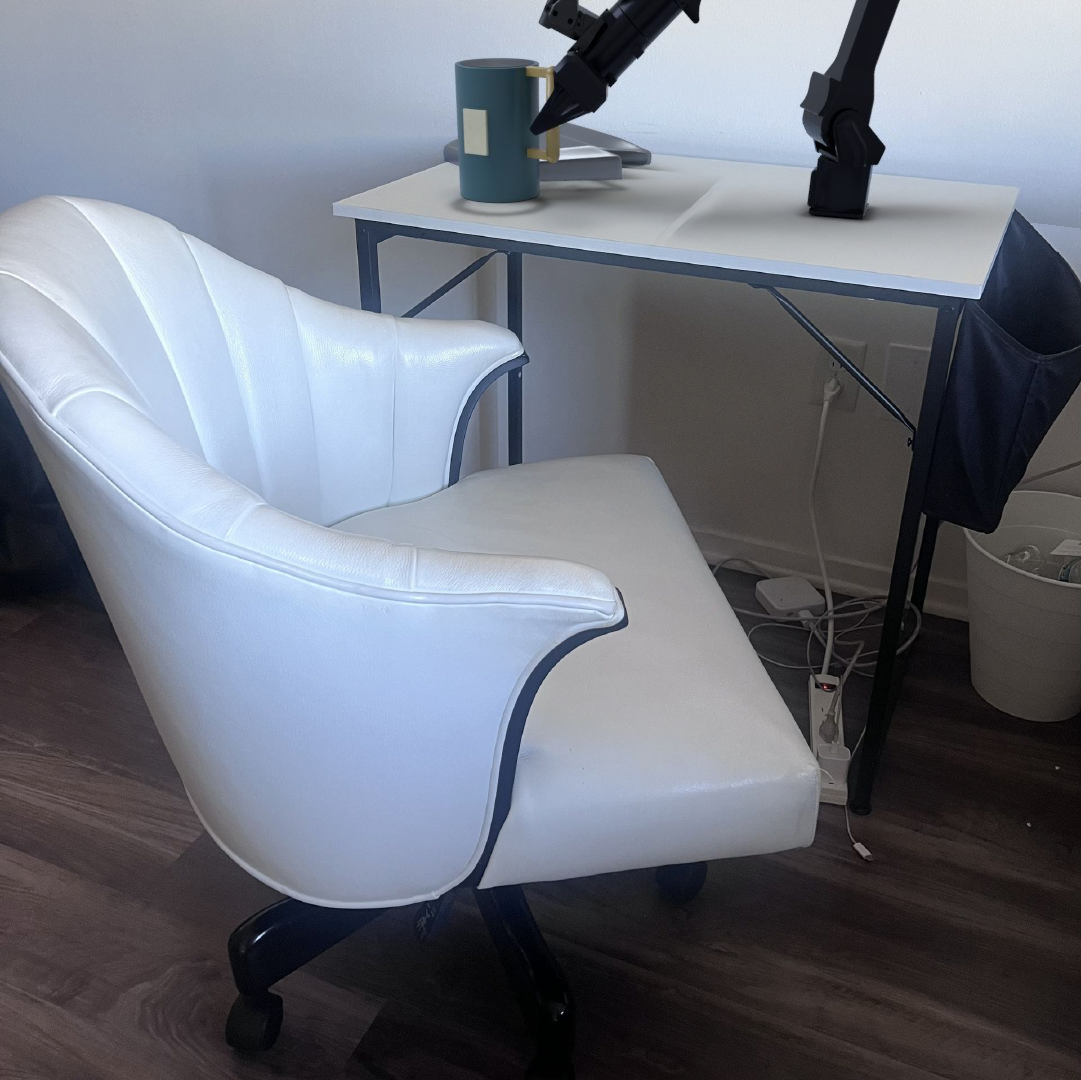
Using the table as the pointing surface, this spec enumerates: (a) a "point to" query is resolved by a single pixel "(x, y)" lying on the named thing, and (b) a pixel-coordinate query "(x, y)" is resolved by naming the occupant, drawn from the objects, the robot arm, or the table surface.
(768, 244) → the table surface
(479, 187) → the teal coffee mug
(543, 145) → the emblem
